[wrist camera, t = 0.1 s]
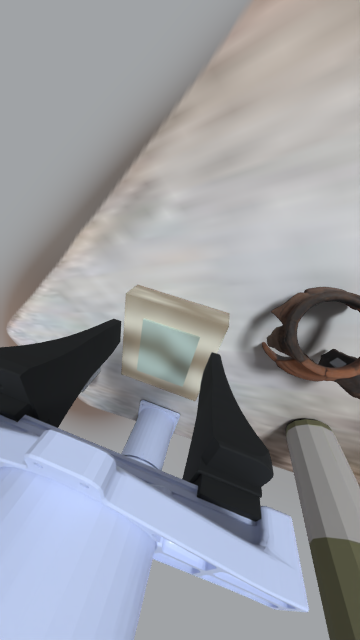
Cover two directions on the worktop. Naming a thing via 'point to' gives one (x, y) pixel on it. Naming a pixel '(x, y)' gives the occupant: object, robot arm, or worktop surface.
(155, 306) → the stand
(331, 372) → the broken clay pot shard
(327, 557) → the bottle
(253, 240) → the worktop surface
